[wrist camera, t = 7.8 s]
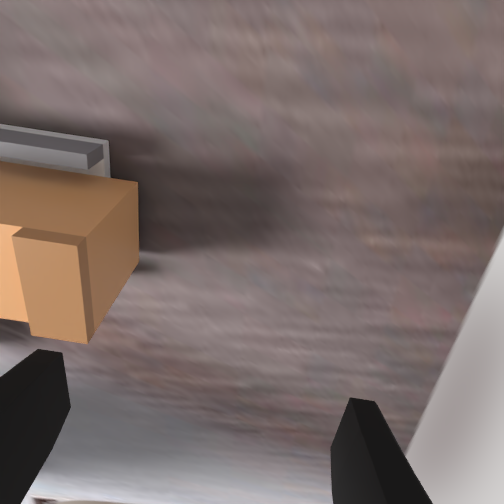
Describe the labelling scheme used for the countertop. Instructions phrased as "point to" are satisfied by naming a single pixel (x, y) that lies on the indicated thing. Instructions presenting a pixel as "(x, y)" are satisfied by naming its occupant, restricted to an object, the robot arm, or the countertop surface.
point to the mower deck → (54, 150)
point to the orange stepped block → (64, 248)
